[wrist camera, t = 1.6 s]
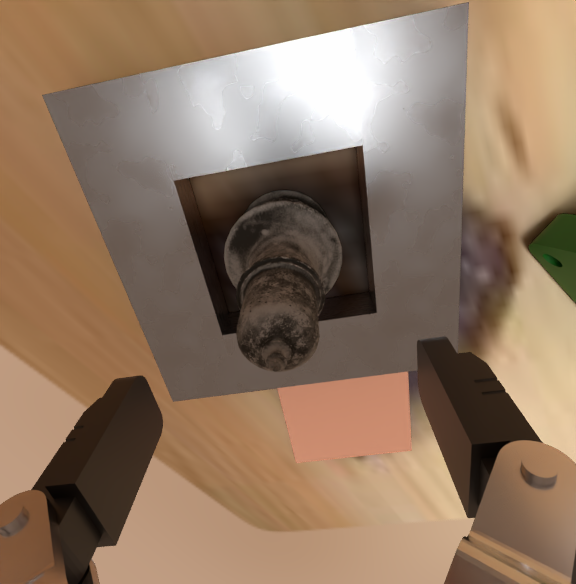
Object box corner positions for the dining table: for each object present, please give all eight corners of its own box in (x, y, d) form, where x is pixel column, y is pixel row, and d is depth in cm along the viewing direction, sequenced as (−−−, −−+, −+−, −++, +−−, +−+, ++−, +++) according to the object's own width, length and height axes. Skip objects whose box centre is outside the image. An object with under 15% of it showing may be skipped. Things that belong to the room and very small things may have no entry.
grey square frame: (71, 94, 19) (42, 95, 17) (446, 13, 17) (468, 2, 15) (182, 376, 27) (172, 401, 25) (442, 341, 25) (457, 365, 23)
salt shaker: (331, 283, 23) (361, 442, 13) (235, 279, 23) (186, 436, 13) (340, 186, 21) (388, 286, 10) (231, 182, 21) (165, 279, 10)
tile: (274, 369, 27) (273, 375, 26) (405, 352, 26) (407, 357, 25) (296, 456, 31) (296, 462, 30) (409, 444, 30) (411, 450, 29)
